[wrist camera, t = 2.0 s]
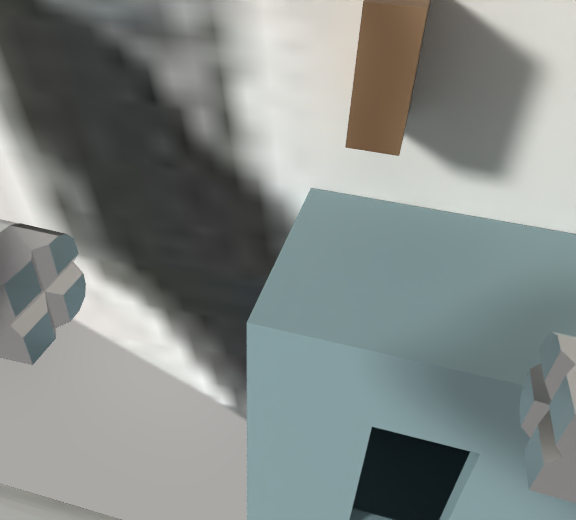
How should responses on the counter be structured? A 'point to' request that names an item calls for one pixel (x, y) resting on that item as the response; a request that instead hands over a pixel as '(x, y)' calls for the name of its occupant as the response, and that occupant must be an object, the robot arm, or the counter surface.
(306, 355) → the box
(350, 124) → the brown rectangular block
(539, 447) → the robot arm
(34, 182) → the counter surface
